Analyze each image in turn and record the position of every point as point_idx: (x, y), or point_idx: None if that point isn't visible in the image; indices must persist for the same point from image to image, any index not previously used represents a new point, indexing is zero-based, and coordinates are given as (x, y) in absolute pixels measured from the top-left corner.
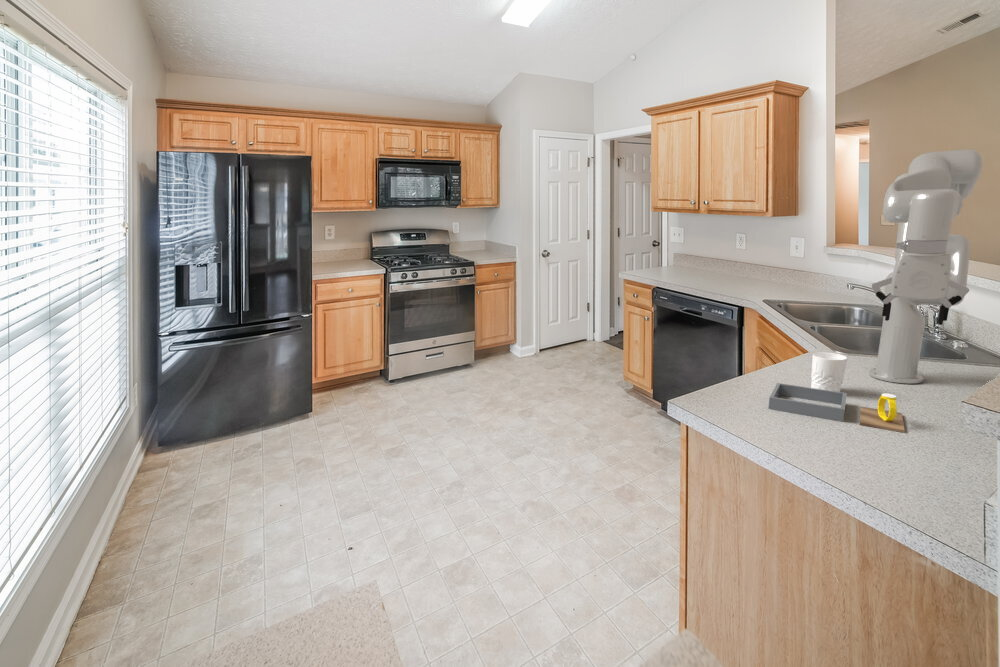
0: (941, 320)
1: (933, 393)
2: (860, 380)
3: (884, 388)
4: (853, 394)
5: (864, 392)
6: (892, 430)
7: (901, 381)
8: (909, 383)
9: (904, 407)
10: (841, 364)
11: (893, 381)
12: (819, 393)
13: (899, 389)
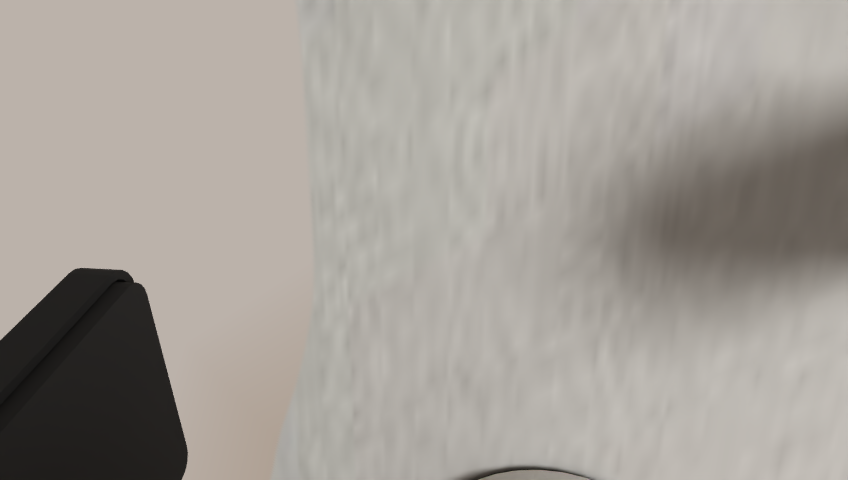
0: (57, 309)
1: (390, 382)
2: (716, 452)
3: (606, 368)
4: (802, 178)
5: (725, 250)
6: None
7: (522, 476)
8: (488, 476)
9: (526, 64)
10: None
11: (557, 473)
12: None
13: (535, 381)
